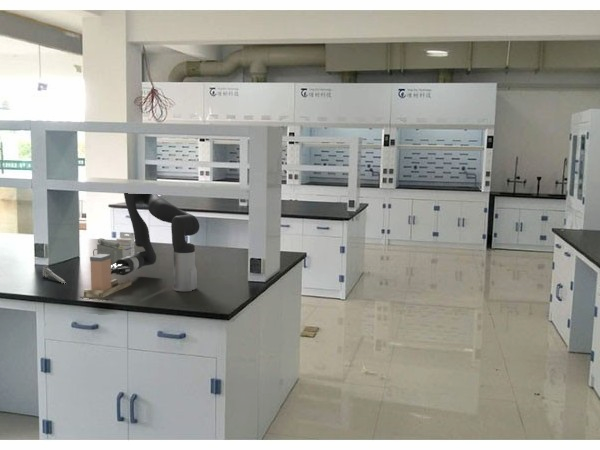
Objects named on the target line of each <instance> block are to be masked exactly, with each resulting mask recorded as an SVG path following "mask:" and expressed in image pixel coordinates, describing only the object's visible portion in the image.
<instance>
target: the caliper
mask: <svg viewBox="0 0 600 450" xmlns="http://www.w3.org/2000/svg"><path fill="white" fill-rule="evenodd" d="M44 276H45V277H44ZM42 277H44V278H48V277H52V278H53V279H55V280H56V281H58V282H59V283H60V282H61V283H60V284H63V283H64V284H63V285H66V284H67V282H66V280H64V278H62V277H60V275H57V274H56V273H54V272H53V271H52V269H50V268H48V265H47V264H44V265H43V267H42ZM65 283H66V284H65Z"/></svg>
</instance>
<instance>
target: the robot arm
mask: <svg viewBox="0 0 600 450" xmlns="http://www.w3.org/2000/svg"><path fill="white" fill-rule="evenodd" d="M123 197H124V201H125V205H126V207H127V212H128V214H129V218H130V221H131V226H132V229H133V233H134V245H135V246H136V247H138V248H140V247H141V248H143V251H139V252H134V255H131V256H127V257H124V258H121V259H119V260H117V261H116V262H115V264H113V265H111V275H120V276H126V275H128V274H131V273H133V272H135V271H137V270H139V269H141V268H143V267H145V266H151V265H154V264H155V263H156V260H157V255H156V254H157V253H156V252H155V250H154V247H153V244H152V243H151V239H150V238H151V237H150V231H149V227H148V225H147V223H146V221H145V220H144V219H143V217H142V216H141V215H140V213H139V211H138V208H137V204H139V205H140V204H144V205H147V207H148V211H149V213H150V214H151V216H152V217H154V218H156V219H157V220H159V221H161V222H165V223H168V224H170V225H171V226H170V229H171V244H172V248H173V290H174V291H176V292H193V291H195V290H196V289H197V288H198V287H197V282H198V281H197V280H198V279H197V278H198V277H197V274H198V273H197V271H198V270H197V267H196V265H195V264H196V260H195V259H196V256H195V255H196V252H195V250H196V247H195V245H194V244H193V243H191V242H187V240H186V237H188V236H194V235H196V234H197V233H198V232H199V230H200V222H199V220H198V218H197V217H196V216H195V215H193V214H191V213H190V212H189V213H188V212H186V211H184V210H182V209H181V208H178V207H177V206H175V205H174V204H172V203H171V202H170V201H168V200H166V199H165V198H163V197H160V195H157V194H156V195H152V194H128V193H124V192H123ZM192 290H193V291H192Z"/></svg>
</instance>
